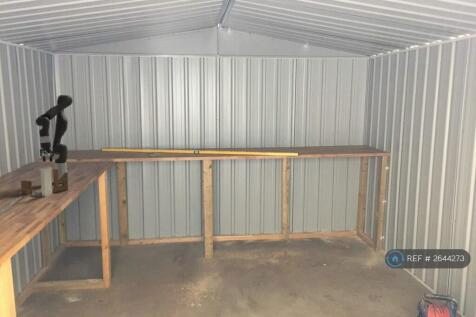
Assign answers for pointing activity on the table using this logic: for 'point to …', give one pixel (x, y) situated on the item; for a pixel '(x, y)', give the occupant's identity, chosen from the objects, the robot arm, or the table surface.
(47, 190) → the grey stand
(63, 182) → the wooden rod assembly
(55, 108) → the robot arm
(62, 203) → the table surface
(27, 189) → the brown rectangular block
